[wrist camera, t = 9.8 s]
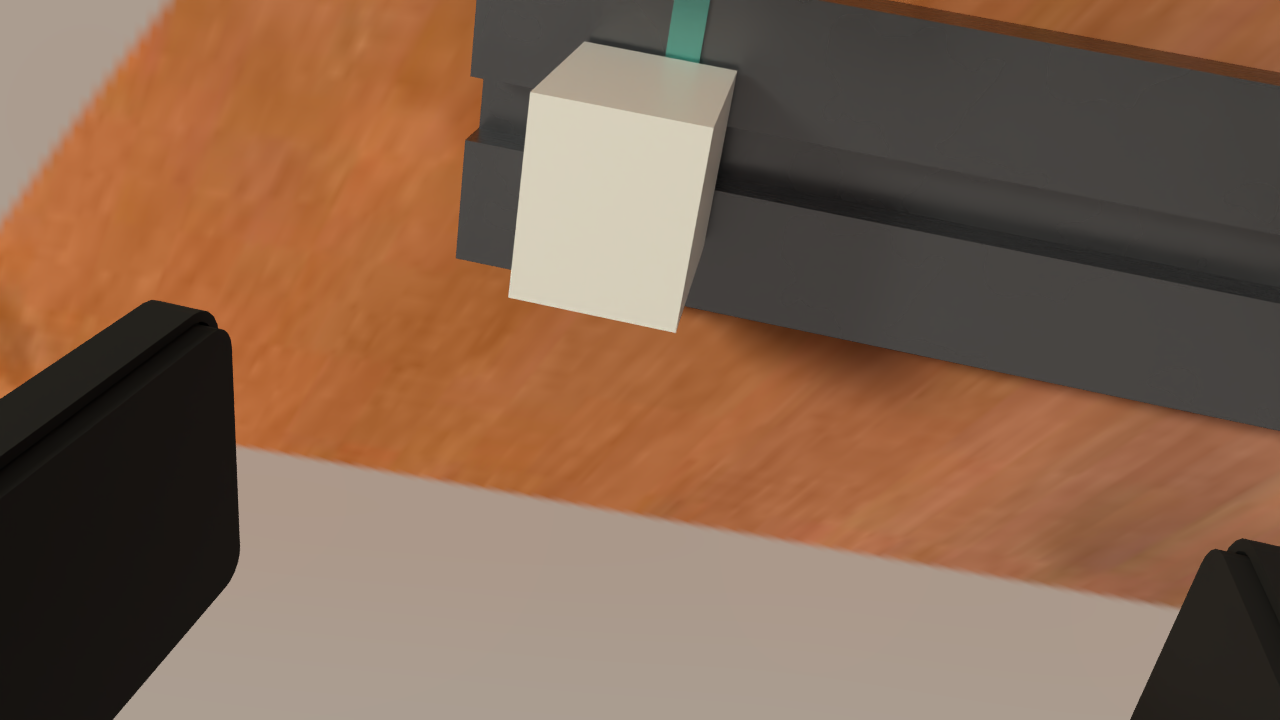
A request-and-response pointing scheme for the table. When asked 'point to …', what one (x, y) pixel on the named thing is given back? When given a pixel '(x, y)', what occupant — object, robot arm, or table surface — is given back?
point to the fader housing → (950, 187)
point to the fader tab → (619, 183)
